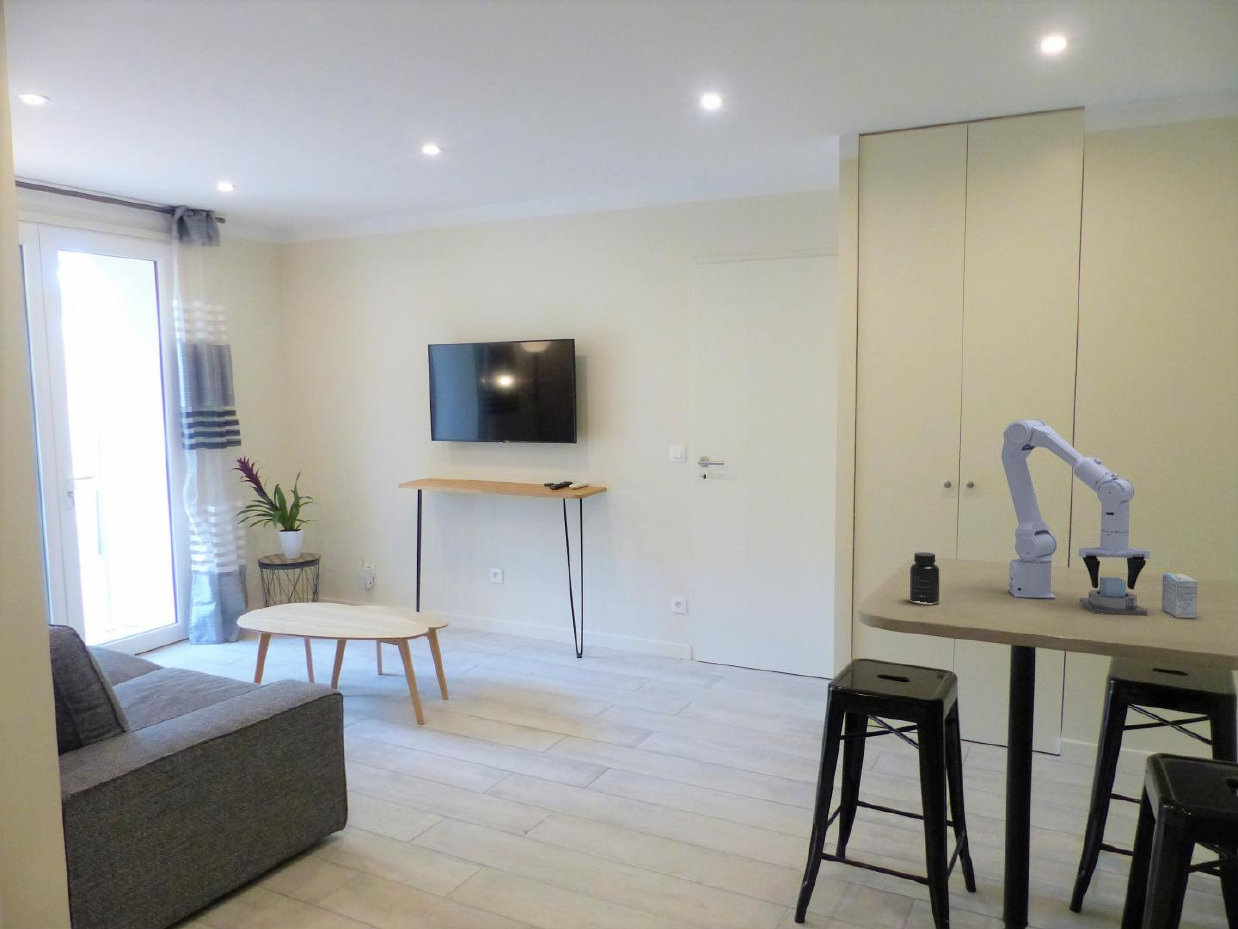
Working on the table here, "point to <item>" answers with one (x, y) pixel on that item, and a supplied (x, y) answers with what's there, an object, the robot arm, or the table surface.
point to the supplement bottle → (924, 578)
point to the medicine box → (1179, 595)
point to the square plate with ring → (1112, 604)
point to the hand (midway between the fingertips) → (1112, 588)
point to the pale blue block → (1112, 587)
